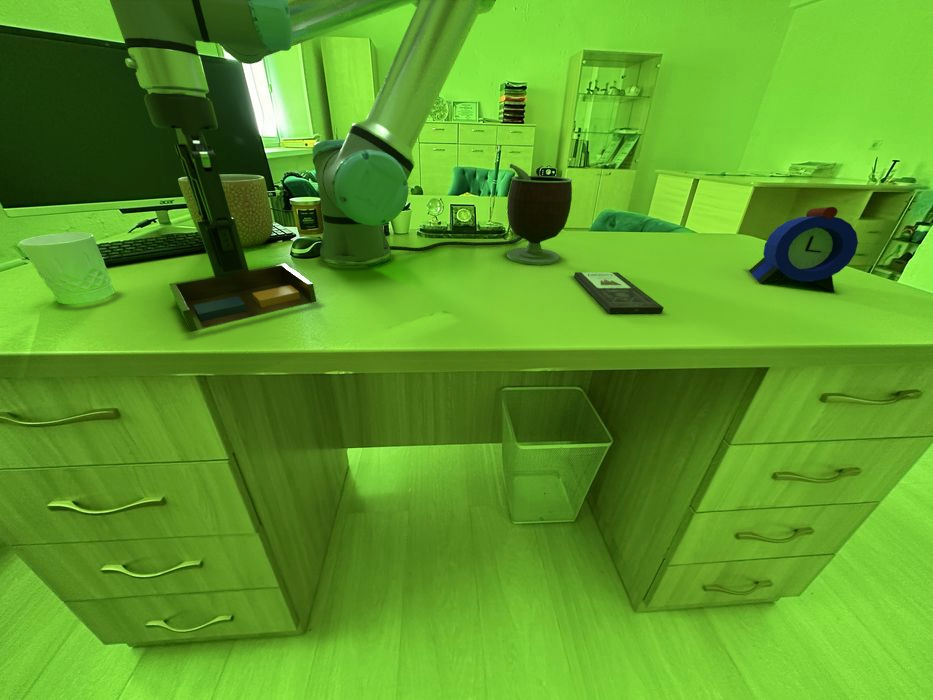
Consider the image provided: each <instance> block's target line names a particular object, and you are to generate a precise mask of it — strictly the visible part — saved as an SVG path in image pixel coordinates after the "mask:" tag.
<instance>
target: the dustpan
mask: <svg viewBox="0 0 933 700" xmlns="http://www.w3.org/2000/svg"><path fill="white" fill-rule="evenodd" d="M232 220H233V226H231V229H232V232H233V236H234V239H235V243H236V246H237V249H238V253H239V256H240V260H241V263H242V267H243V269H239V270H234V271H228V272H224V271H223V269H222V266H221V262H220V259H219V256H218V253H217V250H216V247H215V243H214V240H213V237H212V234H211V231H210V230H208V231H207V230H206V228H205V226H210V222H209V220H201V221H196V222H197V225H198V228H199V231H200V234H201V236H200V238H201V241H202V243H203V246H204V249H205V252H206V255H207V259H208V262H209V264H210V268H211V270H212V273H213V275H210V276H205V277H200V278H195V279H190V280H189V279H188V280H182V281H175V282H170V283H168V285H169V288H170V290H171V294H172V296H173V298H174V301H175V303H176V305H177V308H178V309H179V311H180V313H181V315H182V317H183V319H184V322H185V323H186V325H187V327H188V329H189V331H190V332H191V333H192V332H196V331H199V330H203V329H208V328H209V329H210V328H212V327H213V328H214V327H217V326H221V325H225V324H229V323H234V322H238V321H241V320H245V319H250V318H254V317H258V316H262V315H266V314H271V313H274V312H278V311H284V310H287V309H291V308H295V307H299V306H300V307H301V306H304V305H308V304H312V303H317V297H316V291H315V286H314V283H313V282H312V281H310V280H309V279H308V278H306V277H304V276H303V275H301V274H300V273H299V272H297V271H296V270H294V269H293V268H291V267H290V266H288V264H286V263H281V264H275V265H270V266H269V265H268V266H264V267H258V268H252V269H250V268H249V266H248V262H247V259H246V255H245V251H244V249H243V248H242V244H241V241H240V237H239V234H238V230H237V226H236V223H235V219H234V218H232ZM200 234H199V235H200ZM289 285H291V286H292V287H294V288H295V289H296V290H297V291H299V294H300V299H297V300H292V301H288V302H284V303H279V304H275V305H271V306H266V307H262V308H261V307H260V306H259V305H258V304H257V302H256V301H255V300H254V298H253V295H252V293H255V292H260V291H265V290H269V289H274V288H279V287H284V286H289ZM236 296H238V297H239V298H240V299H241V300H242V301H243V302H244V304H245V306H246V309H247V311H244V312H240V313H236V314H231V315H227V316H223V317H218V318H214V319H210V320H205V321H200V319H199V318H198V316H197V314H196V312H195V310H194V307H193V305H197V304H202V303H207V302H212V301H216V300H221V299H226V298H231V297H236Z"/></svg>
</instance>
